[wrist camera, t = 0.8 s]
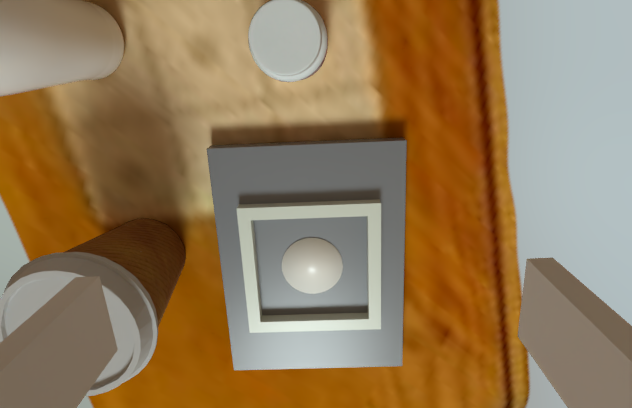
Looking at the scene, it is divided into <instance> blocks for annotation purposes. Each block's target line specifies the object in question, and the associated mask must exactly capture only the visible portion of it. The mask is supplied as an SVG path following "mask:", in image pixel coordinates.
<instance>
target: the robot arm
mask: <svg viewBox="0 0 632 408" xmlns="http://www.w3.org/2000/svg"><path fill="white" fill-rule="evenodd" d="M518 337H519V339H520V340H521V342H522V343H523V344H524V346H525V347H526V349H527V350H528V352H529V353H530V354H531V356H532V357H533V359H534V360H535V362H536V363H537V364H538V366H539V367H540V369H541V370H542V371H543V373H544V374H545V376H546V377H547V379H548V380H549V381H550V383H551V384H552V386H553V387H554V389H555V390H556V392H557V393H558V394H559V396H560V397H561V399H562V400H563V401H564V403H565V404H566V406H567V407H568V408H632V326H631V325H630V324H629V323H627V322H626V321H625V320H624V319H623V318H622V317H621V316H619V315H618V314H617V313H616V312H615V311H614V310H612V309H611V308H610V307H609V306H608V305H607V304H605V303H604V302H603V301H602V300H601V299H599V297H597V296H596V295H595V294H594V293H593V292H592V291H590V290H589V289H588V288H587V287H586V286H585V285H584V284H582V283H581V282H580V281H579V280H578V279H577V278H575V277H574V276H573V275H572V274H571V273H570V272H569V271H567V270H566V269H565V268H564V267H563V266H562V265H561V264H559V263H558V262H557V261H556V260H554V259H553V258H538V259H537V258H535V259H527V262H526V270H525V279H524V287H523V296H522V304H521V313H520V321H519V329H518ZM117 350H118V348H117V344H116V340H115V336H114V332H113V328H112V324H111V320H110V316H109V312H108V308H107V304H106V300H105V296H104V292H103V288H102V284H101V280H100V276H93V277H75V278H74V279H73V280H72V281H71V282H70V283H68V284H67V285H66V286H65V287H64V288H63V289H61V290H60V291H59V292H58V293H57V294H56V295H55V296H53V297H52V298H51V299H50V300H49V301H48V302H47V303H45V304H44V305H43V306H42V307H41V308H40V309H39V310H37V311H36V312H35V313H34V314H33V315H32V316H31V317H29V318H28V319H27V320H26V321H25V322H24V323H23V324H21V325H20V326H19V327H18V328H17V329H16V330H15V331H13V332H12V333H11V334H10V335H9V336H8V337H7V338H5V339H4V340H3V341H2V342H1V343H0V408H77V406H78V405H79V404H80V402H81V401H82V399H83V398H84V396H85V395H86V394H87V392H88V391H89V390H90V388H91V387H92V385H93V384H94V383H95V381H96V380H97V378H98V377H99V376H100V374H101V373H102V371H103V370H104V369H105V367H106V366H107V364H108V363H109V362H110V360H111V359H112V357H113V356H114V355H115V353H116V352H117Z"/></svg>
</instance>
